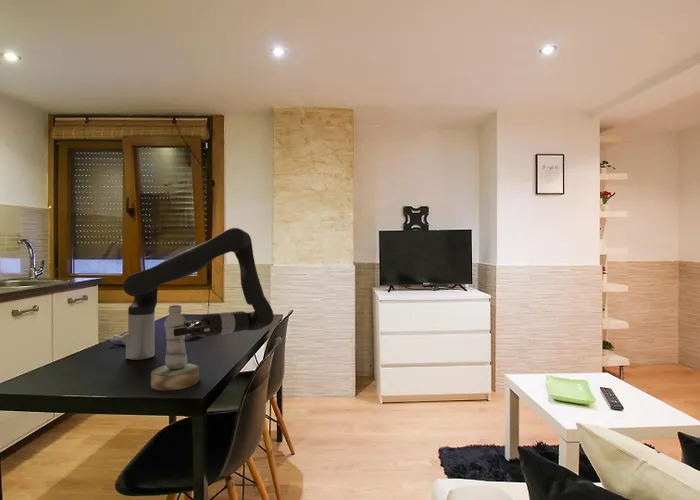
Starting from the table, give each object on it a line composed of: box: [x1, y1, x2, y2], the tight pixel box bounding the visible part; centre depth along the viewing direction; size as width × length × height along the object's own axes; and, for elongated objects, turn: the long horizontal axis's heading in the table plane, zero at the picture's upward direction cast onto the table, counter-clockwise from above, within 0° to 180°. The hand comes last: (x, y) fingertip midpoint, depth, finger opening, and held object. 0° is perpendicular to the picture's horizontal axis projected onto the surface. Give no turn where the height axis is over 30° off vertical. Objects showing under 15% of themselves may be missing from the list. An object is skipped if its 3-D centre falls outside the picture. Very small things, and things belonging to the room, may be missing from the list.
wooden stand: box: [150, 362, 200, 392], centre depth 125 cm, size 14×14×4 cm
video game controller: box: [184, 334, 197, 340], centre depth 187 cm, size 10×5×7 cm, turn 169°
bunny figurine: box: [109, 332, 128, 346], centre depth 174 cm, size 10×5×15 cm
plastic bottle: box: [163, 305, 188, 369], centre depth 125 cm, size 6×7×20 cm
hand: (169, 330), depth 124 cm, fingers open, 8 cm apart
